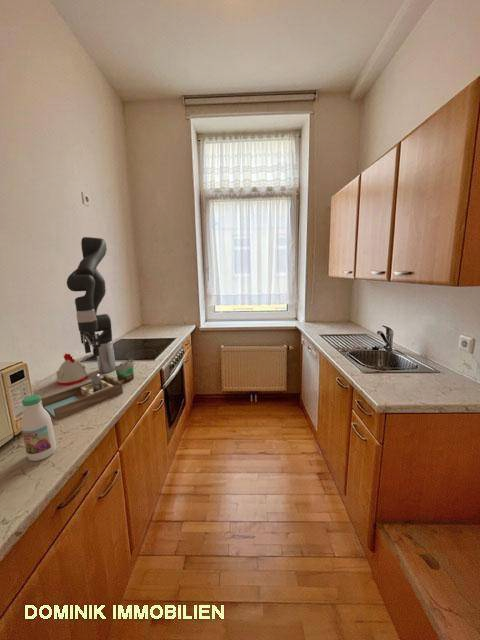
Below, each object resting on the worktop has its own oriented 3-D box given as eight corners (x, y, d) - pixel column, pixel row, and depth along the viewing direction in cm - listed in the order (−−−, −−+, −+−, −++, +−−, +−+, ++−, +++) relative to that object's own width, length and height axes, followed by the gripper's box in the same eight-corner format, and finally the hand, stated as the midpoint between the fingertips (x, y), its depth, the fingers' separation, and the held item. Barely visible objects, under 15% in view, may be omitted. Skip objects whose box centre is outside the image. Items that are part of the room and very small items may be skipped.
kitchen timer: (77, 373, 154) (73, 348, 151) (92, 377, 148) (88, 351, 145) (52, 383, 142) (47, 356, 139) (67, 387, 136) (62, 359, 133)
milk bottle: (38, 446, 91) (26, 392, 87) (61, 444, 92) (51, 391, 87) (22, 463, 83) (8, 404, 79) (48, 460, 84) (36, 403, 80)
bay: (43, 408, 116) (40, 396, 115) (106, 384, 138) (105, 374, 137) (56, 420, 107) (54, 407, 106) (123, 392, 128) (121, 382, 127)
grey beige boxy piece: (81, 393, 126) (78, 375, 125) (102, 385, 134) (100, 368, 132) (92, 400, 119) (89, 381, 117) (114, 391, 127) (112, 374, 125)
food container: (127, 385, 137) (125, 366, 135) (116, 384, 138) (114, 366, 136) (140, 375, 148) (138, 358, 146) (130, 374, 150) (128, 357, 148)
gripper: (71, 319, 121) (77, 353, 124) (85, 323, 112) (90, 359, 116) (88, 317, 127) (93, 349, 130) (103, 319, 118) (108, 354, 121)
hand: (92, 354), depth 123 cm, fingers open, 8 cm apart
